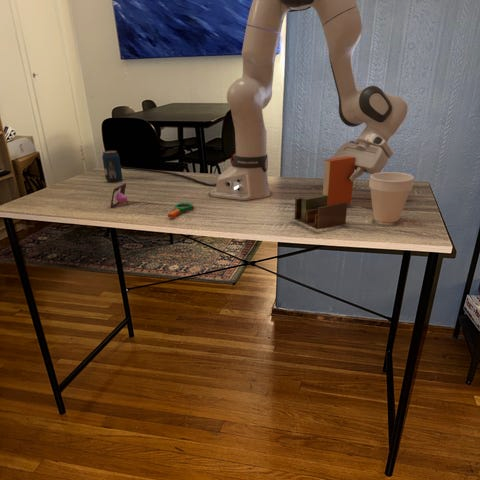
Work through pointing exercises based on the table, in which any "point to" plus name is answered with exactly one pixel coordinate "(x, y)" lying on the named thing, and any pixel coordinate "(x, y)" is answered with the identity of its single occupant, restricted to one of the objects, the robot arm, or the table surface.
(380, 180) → the flower pot
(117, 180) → the soda can
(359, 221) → the table surface
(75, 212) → the table surface
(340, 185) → the book
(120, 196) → the brown pink framed ornament
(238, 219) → the table surface
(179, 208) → the magnifying glass
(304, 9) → the robot arm
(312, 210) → the rack
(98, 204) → the table surface
